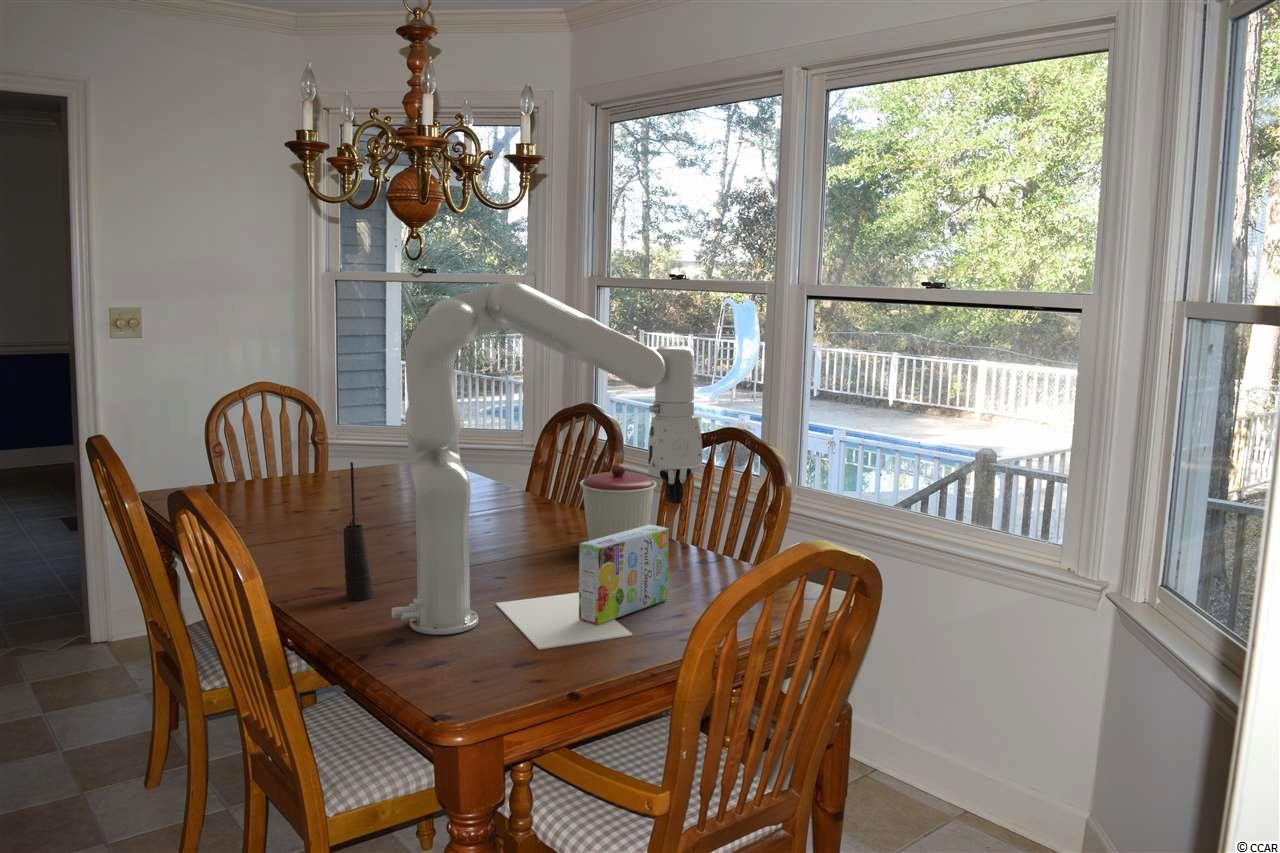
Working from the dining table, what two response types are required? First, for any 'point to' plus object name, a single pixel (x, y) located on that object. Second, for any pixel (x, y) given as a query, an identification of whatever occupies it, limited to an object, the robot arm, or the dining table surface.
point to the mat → (558, 621)
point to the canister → (616, 501)
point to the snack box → (623, 573)
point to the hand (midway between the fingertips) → (674, 502)
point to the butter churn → (356, 558)
